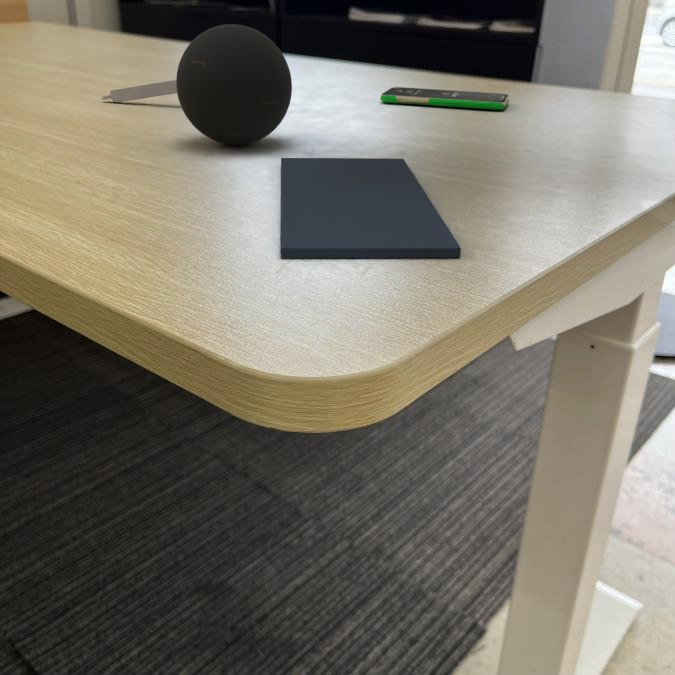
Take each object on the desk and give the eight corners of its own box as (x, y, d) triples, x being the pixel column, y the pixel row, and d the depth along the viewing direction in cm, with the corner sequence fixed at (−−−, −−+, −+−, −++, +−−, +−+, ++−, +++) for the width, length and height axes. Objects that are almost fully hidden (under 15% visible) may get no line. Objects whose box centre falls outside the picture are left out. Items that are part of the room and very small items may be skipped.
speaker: (292, 133, 72) (292, 21, 68) (291, 157, 63) (290, 29, 59) (188, 132, 72) (181, 19, 67) (172, 155, 63) (162, 27, 58)
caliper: (271, 112, 83) (270, 52, 80) (267, 113, 82) (266, 53, 79) (106, 100, 88) (99, 43, 85) (101, 102, 87) (94, 44, 84)
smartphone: (505, 102, 86) (378, 94, 90) (504, 111, 86) (378, 102, 90) (510, 93, 92) (392, 86, 96) (509, 101, 93) (391, 93, 97)
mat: (403, 165, 61) (403, 158, 61) (460, 258, 42) (461, 247, 41) (281, 165, 61) (281, 157, 60) (280, 258, 41) (280, 248, 41)
